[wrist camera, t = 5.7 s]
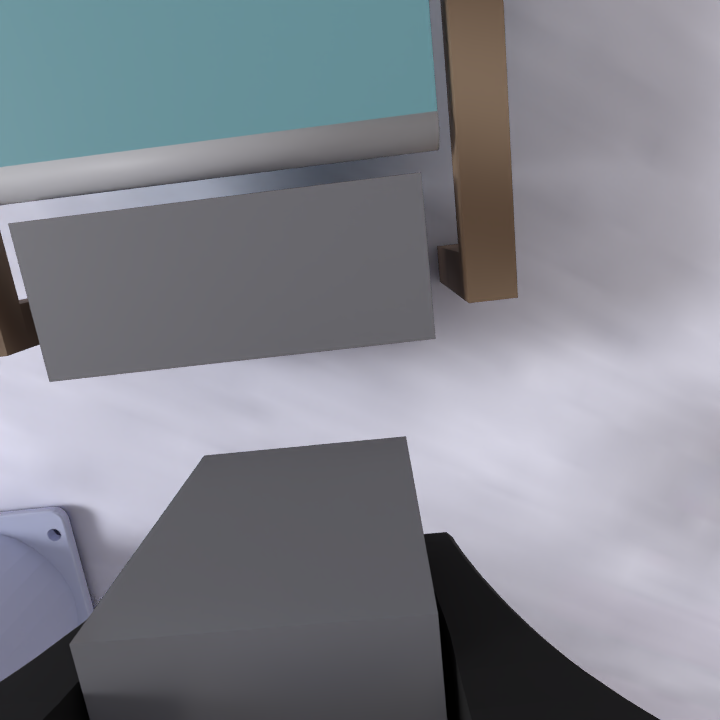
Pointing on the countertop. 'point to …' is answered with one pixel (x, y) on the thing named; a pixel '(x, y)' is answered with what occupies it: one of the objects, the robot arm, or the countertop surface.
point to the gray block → (274, 596)
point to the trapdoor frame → (469, 160)
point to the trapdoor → (216, 176)
